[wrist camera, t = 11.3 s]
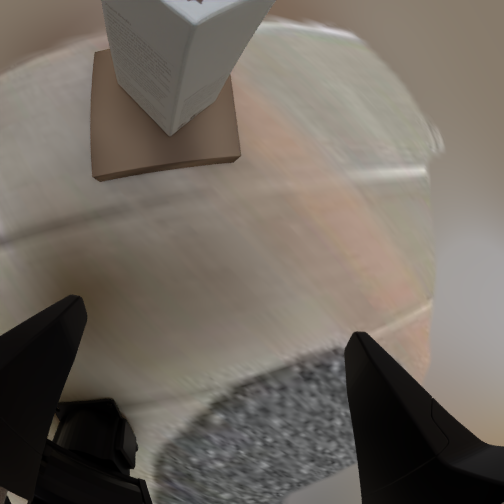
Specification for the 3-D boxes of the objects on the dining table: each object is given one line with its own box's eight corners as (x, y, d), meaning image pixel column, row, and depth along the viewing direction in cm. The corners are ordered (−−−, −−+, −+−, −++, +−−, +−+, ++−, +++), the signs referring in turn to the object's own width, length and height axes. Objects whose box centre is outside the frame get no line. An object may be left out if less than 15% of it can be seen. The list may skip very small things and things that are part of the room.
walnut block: (102, 183, 18) (92, 177, 16) (101, 70, 17) (94, 52, 14) (231, 164, 21) (241, 155, 18) (218, 56, 20) (225, 38, 17)
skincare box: (217, 101, 17) (294, -13, 6) (169, 139, 17) (193, 28, 6) (162, 48, 16) (187, -80, 4) (114, 82, 15) (90, -45, 4)
